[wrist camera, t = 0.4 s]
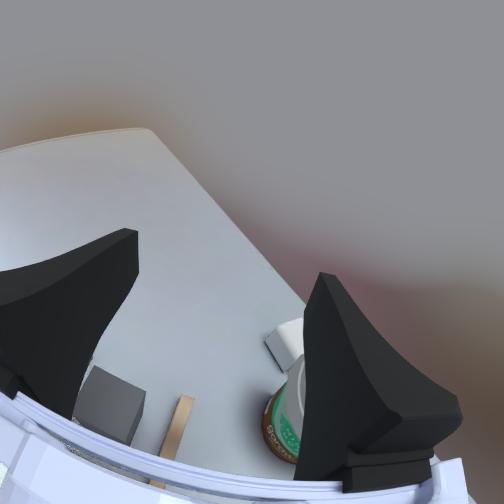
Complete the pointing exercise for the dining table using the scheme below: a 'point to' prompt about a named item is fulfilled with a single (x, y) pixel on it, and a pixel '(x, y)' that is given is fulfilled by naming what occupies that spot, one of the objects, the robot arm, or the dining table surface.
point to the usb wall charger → (287, 343)
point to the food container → (286, 415)
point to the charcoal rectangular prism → (109, 406)
